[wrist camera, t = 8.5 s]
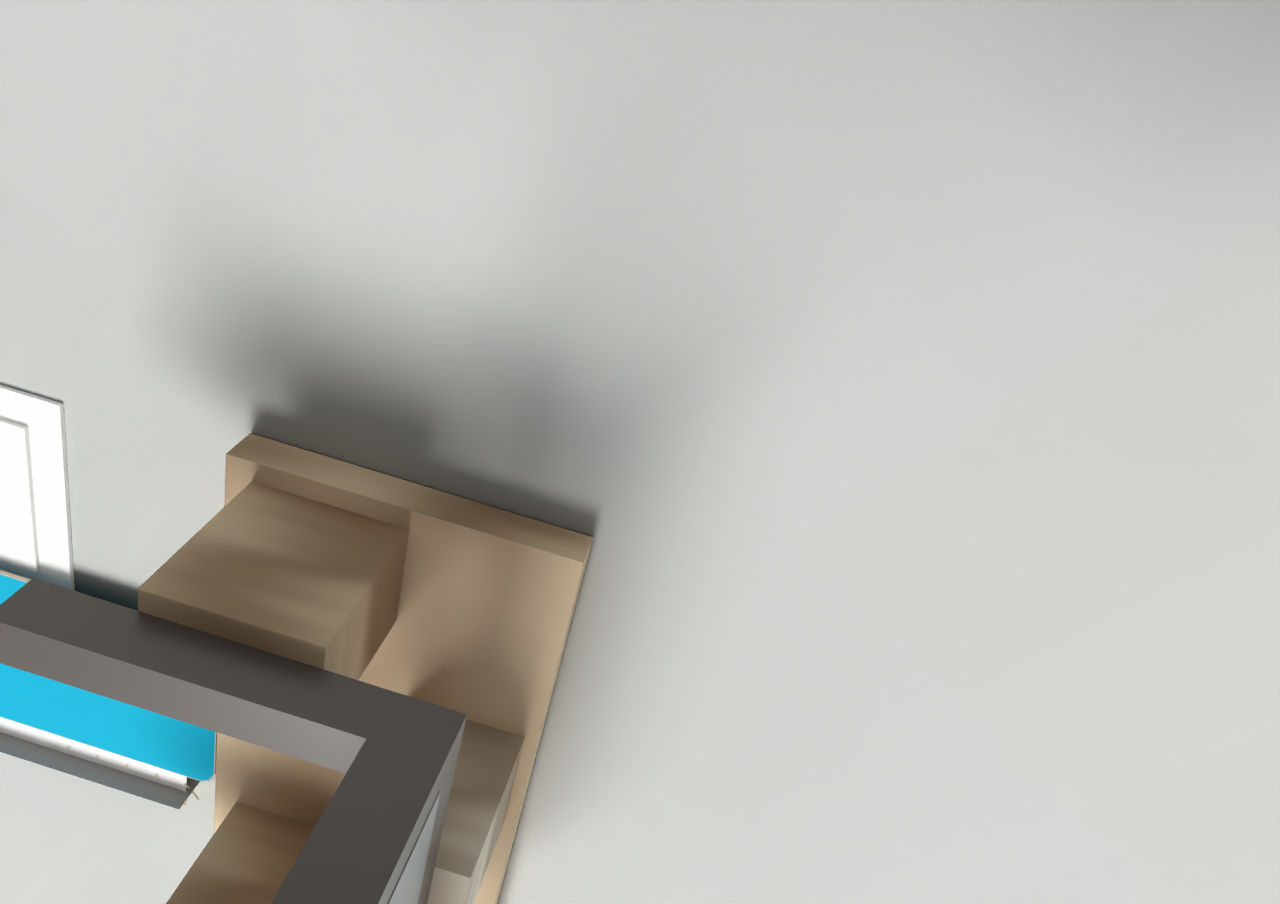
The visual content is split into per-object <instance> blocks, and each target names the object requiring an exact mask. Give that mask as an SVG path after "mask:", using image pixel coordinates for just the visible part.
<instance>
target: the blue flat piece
mask: <svg viewBox="0 0 1280 904" xmlns="http://www.w3.org/2000/svg"><path fill="white" fill-rule="evenodd" d="M33 578H36V579H39V580H42V581H45V582H48V583H51V584H55V585H58V586H61V587H64V588H67V589H70V590H74V591H75V585H74V568H73V552H72V536H71V520H70V503H69V487H68V471H67V455H66V438H65V422H64V406H63V403H59V402H56V401H53V400H50V399H46V398H43V397H40V396H37V395H33V394H30V393H27V392H23V391H20V390H17V389H14V388H10V387H7V386H4V385H1V384H0V604H2V603H3V602H4V601H5V600H7V599H8V598H9V597H10V596H12V595H13V594H14V593H15V592H17V591H18V590H19V589H20V588H21V587H23V586H24V585H25V584H26V583H28V582H29V581H30V580H31V579H33ZM0 752H3V753H6V754H9V755H12V756H15V757H18V758H21V759H25V760H28V761H31V762H34V763H37V764H40V765H43V766H46V767H49V768H53V769H56V770H59V771H62V772H65V773H68V774H71V775H74V776H77V777H80V778H84V779H87V780H90V781H93V782H96V783H99V784H102V785H105V786H108V787H112V788H115V789H118V790H121V791H124V792H127V793H130V794H133V795H136V796H140V797H143V798H146V799H149V800H152V801H155V802H158V803H161V804H164V805H167V806H171V807H174V808H177V809H180V807H181V806H182V805H183V803H184V805H186V801H187V798H188V797H189V795H190V794H191V793H193V795H194V796H195V797H196V798H197V800H199V798H198V797H197V795H196V794H195V793H194V792H193V790H194V789H195V787H196V786H197V785H198V783H199V782H200V781H207V780H210V779H211V778H212V777H213V776H214V775H215V773H216V757H217V732H214V731H211V730H208V729H205V728H202V727H199V726H195V725H192V724H189V723H186V722H183V721H180V720H177V719H174V718H170V717H167V716H164V715H161V714H158V713H155V712H152V711H148V710H145V709H142V708H139V707H136V706H133V705H130V704H127V703H123V702H120V701H117V700H114V699H111V698H108V697H105V696H101V695H98V694H95V693H92V692H89V691H86V690H83V689H80V688H76V687H73V686H70V685H67V684H64V683H61V682H58V681H54V680H51V679H48V678H45V677H42V676H39V675H36V674H33V673H29V672H26V671H23V670H20V669H17V668H14V667H11V666H7V665H4V664H1V663H0Z"/></svg>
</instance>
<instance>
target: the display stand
mask: <svg viewBox="0 0 1280 904" xmlns="http://www.w3.org/2000/svg"><path fill="white" fill-rule="evenodd" d="M592 541H593V537H590V536H587V535H584V534H580V533H577V532H574V531H571V530H567V529H564V528H561V527H557V526H554V525H551V524H548V523H544V522H541V521H538V520H534V519H531V518H528V517H525V516H521V515H518V514H515V513H511V512H508V511H505V510H501V509H498V508H495V507H492V506H488V505H485V504H482V503H478V502H475V501H472V500H469V499H465V498H462V497H459V496H455V495H452V494H449V493H446V492H442V491H439V490H436V489H432V488H429V487H426V486H423V485H419V484H416V483H413V482H409V481H406V480H403V479H399V478H396V477H393V476H390V475H386V474H383V473H380V472H376V471H373V470H370V469H367V468H363V467H360V466H357V465H353V464H350V463H347V462H344V461H340V460H337V459H334V458H330V457H327V456H324V455H321V454H317V453H314V452H311V451H307V450H304V449H301V448H297V447H294V446H291V445H288V444H284V443H281V442H278V441H274V440H271V439H268V438H265V437H261V436H258V435H255V434H251V433H250V434H249V435H248V436H246V437H245V438H244V439H243V440H242V441H241V442H239V443H238V444H237V445H236V446H235V447H234V448H232V449H231V450H230V451H229V452H228V453H227V454H226V474H225V505H224V508H223V509H222V510H221V511H220V512H219V513H218V514H216V515H215V516H214V517H213V518H212V519H211V520H210V521H209V522H208V523H207V524H206V525H205V526H204V527H203V528H202V529H201V530H199V531H198V532H197V533H196V534H195V535H194V536H193V537H192V538H191V539H190V540H189V541H188V542H187V543H186V544H185V545H184V546H183V547H181V548H180V549H179V550H178V551H177V552H176V553H175V554H174V555H173V556H172V557H171V558H170V559H169V560H168V561H167V562H166V563H165V564H163V565H162V566H161V567H160V568H159V569H158V570H157V571H156V572H155V573H154V574H153V575H152V576H151V577H150V578H149V579H148V580H146V581H145V582H144V583H143V584H142V585H141V586H140V587H139V588H138V611H140V612H143V613H147V614H150V615H153V616H156V617H159V618H162V619H166V620H169V621H172V622H175V623H178V624H181V625H185V626H188V627H191V628H194V629H197V630H200V631H204V632H207V633H210V634H213V635H216V636H219V637H223V638H226V639H229V640H232V641H235V642H238V643H242V644H245V645H248V646H251V647H254V648H257V649H261V650H264V651H267V652H270V653H273V654H276V655H280V656H283V657H286V658H289V659H292V660H296V661H299V662H302V663H305V664H308V665H311V666H315V667H318V668H321V669H324V670H327V671H330V672H334V673H337V674H340V675H343V676H346V677H349V678H353V679H356V680H359V681H362V682H365V683H368V684H372V685H375V686H378V687H381V688H384V689H387V690H391V691H394V692H397V693H400V694H403V695H406V696H410V697H413V698H416V699H419V700H422V701H425V702H429V703H432V704H435V705H438V706H441V707H444V708H448V709H451V710H454V711H457V712H460V713H464V714H467V717H466V721H465V726H464V731H463V735H462V740H461V745H460V750H459V754H458V759H457V764H456V768H455V773H454V778H453V783H452V787H451V792H450V797H449V802H448V806H447V811H446V816H445V820H444V825H443V830H442V835H441V839H440V844H439V849H438V853H437V858H436V863H435V868H434V872H433V877H432V882H431V886H430V891H429V896H428V901H427V904H497V903H498V899H499V895H500V891H501V888H502V884H503V880H504V876H505V872H506V869H507V865H508V861H509V857H510V853H511V850H512V846H513V842H514V838H515V834H516V830H517V827H518V823H519V819H520V815H521V811H522V808H523V804H524V800H525V796H526V792H527V789H528V785H529V781H530V777H531V773H532V770H533V766H534V762H535V758H536V754H537V751H538V747H539V743H540V739H541V735H542V732H543V728H544V724H545V720H546V716H547V712H548V709H549V705H550V701H551V697H552V693H553V690H554V686H555V682H556V678H557V674H558V671H559V667H560V663H561V659H562V655H563V652H564V648H565V644H566V640H567V636H568V633H569V629H570V625H571V621H572V617H573V614H574V610H575V606H576V602H577V598H578V595H579V591H580V587H581V583H582V579H583V575H584V572H585V568H586V564H587V560H588V556H589V553H590V549H591V545H592ZM345 774H346V773H343V772H340V771H336V770H333V769H330V768H327V767H324V766H321V765H318V764H314V763H311V762H308V761H305V760H302V759H299V758H296V757H293V756H289V755H286V754H283V753H280V752H277V751H274V750H271V749H268V748H264V747H261V746H258V745H255V744H252V743H249V742H246V741H242V740H239V739H236V738H233V737H230V736H227V735H224V734H221V733H217V757H216V788H215V820H214V835H213V836H212V838H211V839H210V841H209V842H208V844H207V845H206V847H205V848H204V850H203V851H202V852H201V854H200V855H199V857H198V858H197V860H196V861H195V863H194V864H193V866H192V867H191V868H190V870H189V871H188V873H187V874H186V876H185V877H184V879H183V880H182V882H181V883H180V884H179V886H178V887H177V889H176V890H175V892H174V893H173V895H172V896H171V898H170V899H169V900H168V902H167V903H166V904H271V902H272V900H273V899H274V897H275V895H276V893H277V892H278V890H279V888H280V886H281V885H282V883H283V881H284V880H285V878H286V876H287V874H288V873H289V871H290V869H291V868H292V866H293V864H294V862H295V861H296V859H297V857H298V855H299V854H300V852H301V850H302V849H303V847H304V845H305V843H306V842H307V840H308V838H309V837H310V835H311V833H312V831H313V830H314V828H315V826H316V824H317V823H318V821H319V819H320V818H321V816H322V814H323V812H324V811H325V809H326V807H327V805H328V804H329V802H330V800H331V799H332V797H333V795H334V793H335V792H336V790H337V788H338V787H339V785H340V783H341V781H342V780H343V778H344V776H345Z"/></svg>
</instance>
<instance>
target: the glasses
mask: <svg viewBox="0 0 1280 904" xmlns="http://www.w3.org/2000/svg"><path fill="white" fill-rule="evenodd" d="M0 663H1V664H4V665H7V666H11V667H14V668H17V669H20V670H23V671H26V672H29V673H33V674H36V675H39V676H42V677H45V678H48V679H51V680H54V681H58V682H61V683H64V684H67V685H70V686H73V687H76V688H80V689H83V690H86V691H89V692H92V693H95V694H98V695H101V696H105V697H108V698H111V699H114V700H117V701H120V702H123V703H127V704H130V705H133V706H136V707H139V708H142V709H145V710H148V711H152V712H155V713H158V714H161V715H164V716H167V717H170V718H174V719H177V720H180V721H183V722H186V723H189V724H192V725H195V726H199V727H202V728H205V729H208V730H211V731H214V732H217V733H221V734H224V735H227V736H230V737H233V738H236V739H239V740H242V741H246V742H249V743H252V744H255V745H258V746H261V747H264V748H268V749H271V750H274V751H277V752H280V753H283V754H286V755H289V756H293V757H296V758H299V759H302V760H305V761H308V762H311V763H314V764H318V765H321V766H324V767H327V768H330V769H333V770H336V771H340V772H343V773H346V774H345V776H344V778H343V780H342V781H341V783H340V785H339V787H338V788H337V790H336V792H335V793H334V795H333V797H332V799H331V800H330V802H329V804H328V805H327V807H326V809H325V811H324V812H323V814H322V816H321V818H320V819H319V821H318V823H317V824H316V826H315V828H314V830H313V831H312V833H311V835H310V837H309V838H308V840H307V842H306V843H305V845H304V847H303V849H302V850H301V852H300V854H299V855H298V857H297V859H296V861H295V862H294V864H293V866H292V868H291V869H290V871H289V873H288V874H287V876H286V878H285V880H284V881H283V883H282V885H281V886H280V888H279V890H278V892H277V893H276V895H275V897H274V899H273V900H272V902H271V904H427V901H428V896H429V891H430V886H431V882H432V877H433V872H434V868H435V863H436V858H437V853H438V849H439V844H440V839H441V835H442V830H443V825H444V820H445V816H446V811H447V806H448V802H449V797H450V792H451V787H452V783H453V778H454V773H455V768H456V764H457V759H458V754H459V750H460V745H461V740H462V735H463V731H464V726H465V721H466V717H467V714H464V713H460V712H457V711H454V710H451V709H448V708H444V707H441V706H438V705H435V704H432V703H429V702H425V701H422V700H419V699H416V698H413V697H410V696H406V695H403V694H400V693H397V692H394V691H391V690H387V689H384V688H381V687H378V686H375V685H372V684H368V683H365V682H362V681H359V680H356V679H353V678H349V677H346V676H343V675H340V674H337V673H334V672H330V671H327V670H324V669H321V668H318V667H315V666H311V665H308V664H305V663H302V662H299V661H296V660H292V659H289V658H286V657H283V656H280V655H276V654H273V653H270V652H267V651H264V650H261V649H257V648H254V647H251V646H248V645H245V644H242V643H238V642H235V641H232V640H229V639H226V638H223V637H219V636H216V635H213V634H210V633H207V632H204V631H200V630H197V629H194V628H191V627H188V626H185V625H181V624H178V623H175V622H172V621H169V620H166V619H162V618H159V617H156V616H153V615H150V614H147V613H143V612H140V611H137V610H134V609H131V608H128V607H124V606H121V605H118V604H115V603H112V602H108V601H105V600H102V599H99V598H96V597H93V596H89V595H86V594H83V593H80V592H77V591H74V590H70V589H67V588H64V587H61V586H58V585H55V584H51V583H48V582H45V581H42V580H39V579H36V578H33V579H31V580H30V581H29V582H28V583H26V584H25V585H24V586H23V587H21V588H20V589H19V590H18V591H17V592H15V593H14V594H13V595H12V596H10V597H9V598H8V599H7V600H5V601H4V602H3V603H2V604H0Z"/></svg>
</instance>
